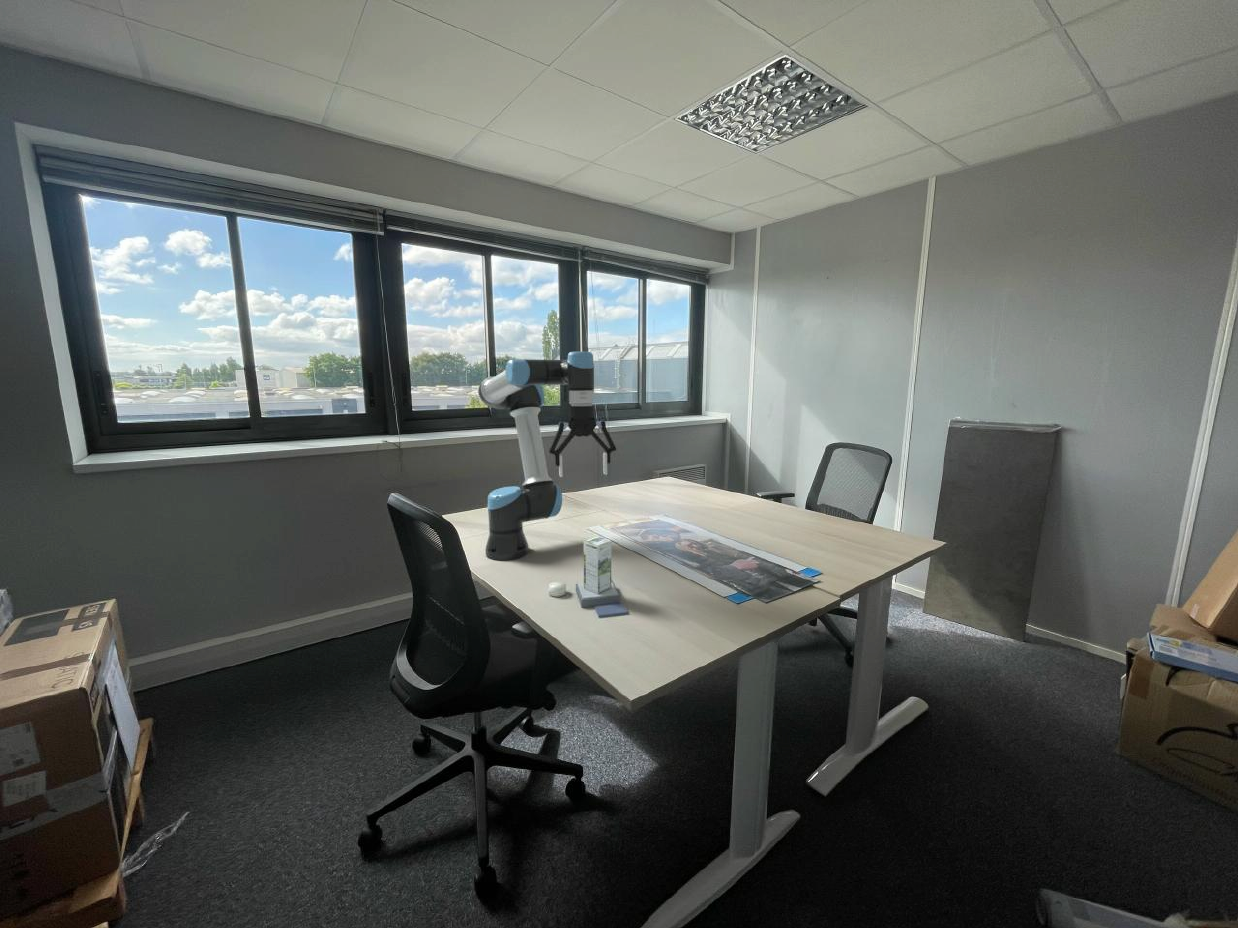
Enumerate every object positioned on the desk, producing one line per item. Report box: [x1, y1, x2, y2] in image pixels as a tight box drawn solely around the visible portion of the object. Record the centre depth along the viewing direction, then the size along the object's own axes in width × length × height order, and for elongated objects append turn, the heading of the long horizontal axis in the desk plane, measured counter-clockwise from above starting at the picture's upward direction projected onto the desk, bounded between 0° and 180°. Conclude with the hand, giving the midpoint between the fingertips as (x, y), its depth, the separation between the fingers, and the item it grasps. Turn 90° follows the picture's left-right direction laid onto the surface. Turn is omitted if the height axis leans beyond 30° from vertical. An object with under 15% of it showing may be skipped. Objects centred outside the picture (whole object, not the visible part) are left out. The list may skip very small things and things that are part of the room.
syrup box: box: [583, 536, 612, 594], centre depth 137 cm, size 6×6×14 cm
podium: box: [575, 579, 622, 608], centre depth 139 cm, size 11×11×2 cm
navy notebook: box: [594, 603, 629, 618], centre depth 130 cm, size 5×8×1 cm, turn 104°
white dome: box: [548, 581, 567, 598], centre depth 141 cm, size 5×5×2 cm
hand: (583, 475), depth 147 cm, fingers open, 13 cm apart
